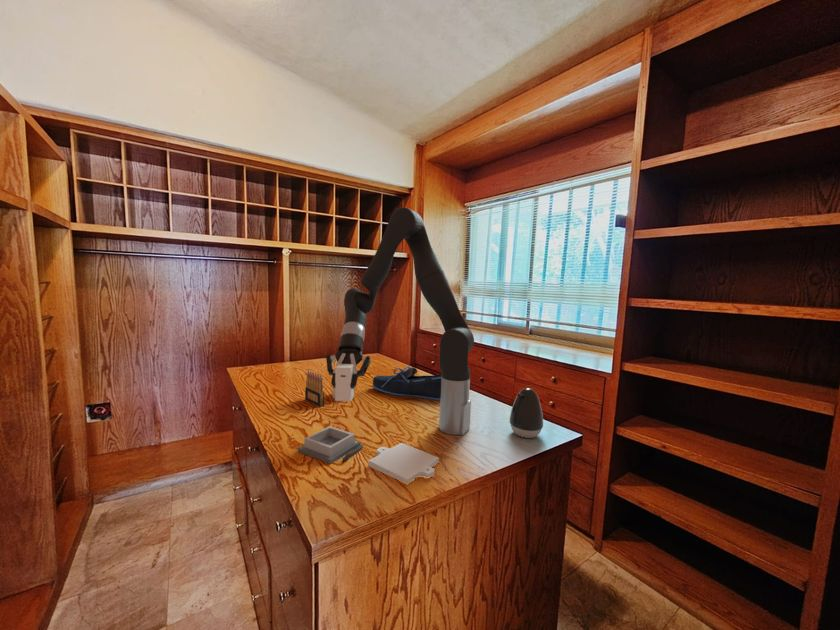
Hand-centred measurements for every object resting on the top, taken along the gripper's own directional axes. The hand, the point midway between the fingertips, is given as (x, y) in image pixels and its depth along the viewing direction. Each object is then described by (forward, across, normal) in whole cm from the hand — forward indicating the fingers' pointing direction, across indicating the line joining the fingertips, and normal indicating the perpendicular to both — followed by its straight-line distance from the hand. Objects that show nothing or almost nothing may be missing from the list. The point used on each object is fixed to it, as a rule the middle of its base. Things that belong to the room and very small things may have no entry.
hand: (343, 387), depth 100 cm
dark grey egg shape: (+6, +56, +17) cm, 59 cm away
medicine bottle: (-15, -8, +38) cm, 42 cm away
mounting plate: (+21, +19, +3) cm, 28 cm away
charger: (+2, 0, +4) cm, 5 cm away
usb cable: (+17, +5, +6) cm, 19 cm away
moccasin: (-19, +19, +43) cm, 51 cm away
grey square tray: (+15, -2, +8) cm, 17 cm away
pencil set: (-9, -18, +32) cm, 38 cm away
